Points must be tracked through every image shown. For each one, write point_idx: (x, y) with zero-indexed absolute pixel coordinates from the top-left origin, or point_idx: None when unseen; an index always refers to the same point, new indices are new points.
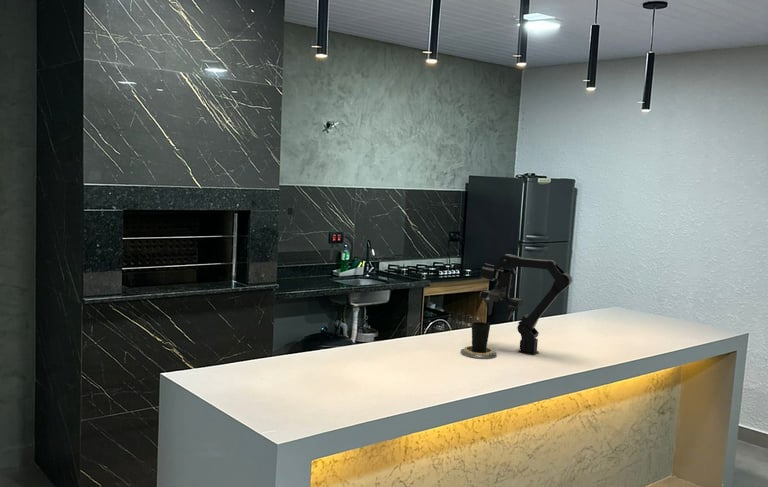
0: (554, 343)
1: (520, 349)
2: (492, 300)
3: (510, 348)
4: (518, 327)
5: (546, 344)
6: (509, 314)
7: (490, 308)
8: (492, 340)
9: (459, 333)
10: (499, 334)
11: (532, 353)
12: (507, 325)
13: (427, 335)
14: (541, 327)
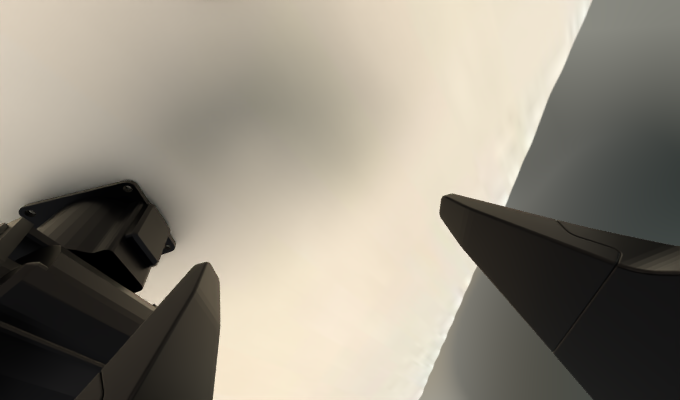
0: (229, 381)
1: (141, 203)
2: (627, 394)
3: (231, 195)
4: (10, 273)
5: (228, 357)
6: (119, 354)
7: (506, 255)
8: (372, 215)
9: (493, 172)
10: (402, 283)
11: (24, 216)
12: (433, 341)
13: (580, 14)
14: (375, 396)
